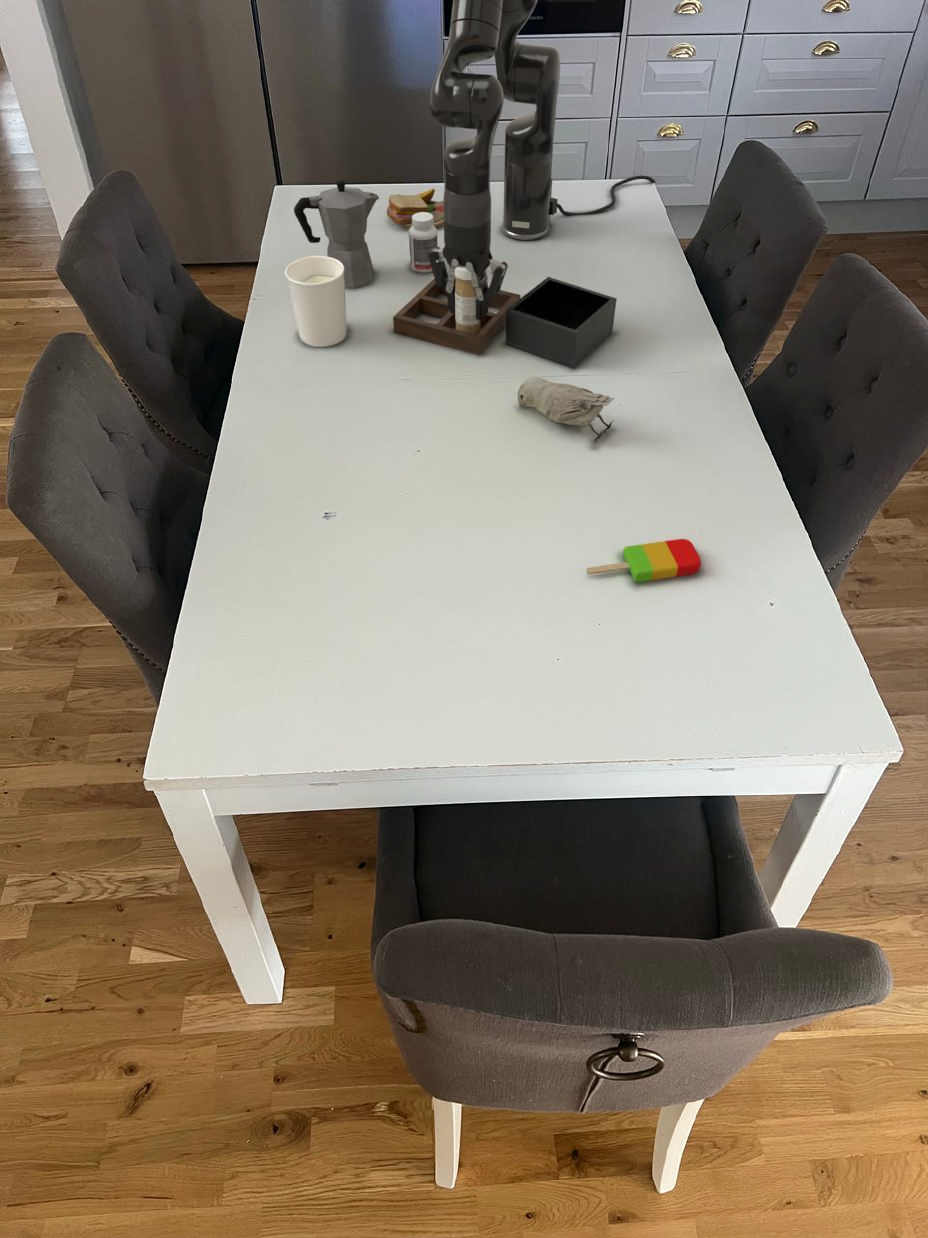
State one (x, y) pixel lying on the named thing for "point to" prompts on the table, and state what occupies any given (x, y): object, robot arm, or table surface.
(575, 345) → the open box
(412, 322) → the wooden cubby shelf
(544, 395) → the decorative bird
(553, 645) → the table surface
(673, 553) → the popsicle
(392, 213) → the toy sandwich meal
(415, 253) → the pill bottle
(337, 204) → the coffeepot
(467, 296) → the sprinkles bottle
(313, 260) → the candle holder
